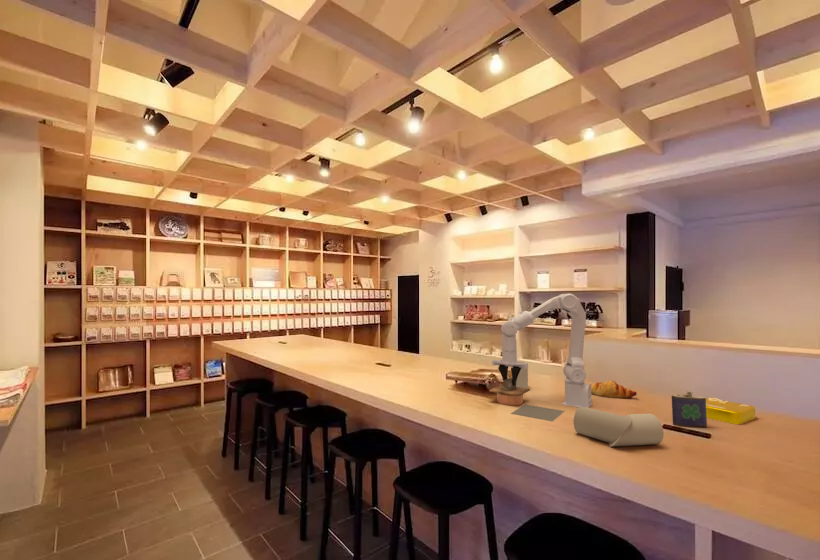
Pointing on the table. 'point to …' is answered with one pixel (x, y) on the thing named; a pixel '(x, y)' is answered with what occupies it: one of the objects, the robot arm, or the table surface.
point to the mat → (538, 412)
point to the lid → (509, 388)
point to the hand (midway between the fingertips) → (509, 384)
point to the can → (522, 378)
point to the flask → (689, 410)
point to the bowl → (509, 399)
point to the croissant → (611, 390)
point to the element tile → (729, 411)
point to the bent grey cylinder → (618, 427)
